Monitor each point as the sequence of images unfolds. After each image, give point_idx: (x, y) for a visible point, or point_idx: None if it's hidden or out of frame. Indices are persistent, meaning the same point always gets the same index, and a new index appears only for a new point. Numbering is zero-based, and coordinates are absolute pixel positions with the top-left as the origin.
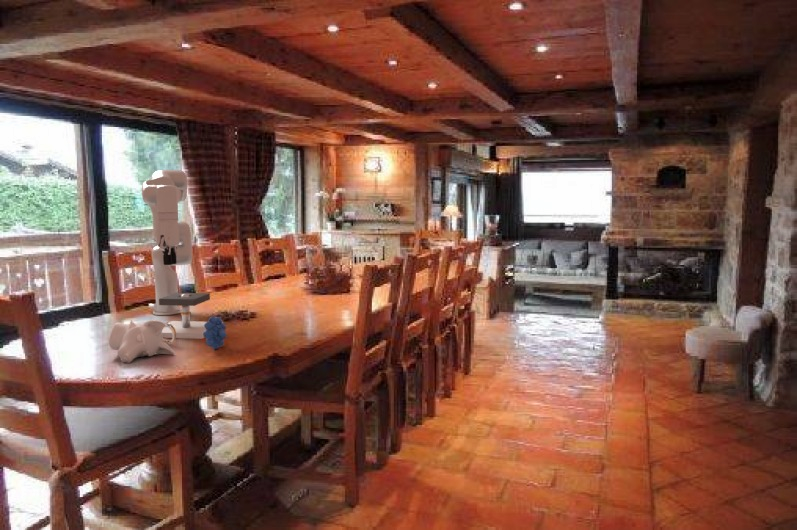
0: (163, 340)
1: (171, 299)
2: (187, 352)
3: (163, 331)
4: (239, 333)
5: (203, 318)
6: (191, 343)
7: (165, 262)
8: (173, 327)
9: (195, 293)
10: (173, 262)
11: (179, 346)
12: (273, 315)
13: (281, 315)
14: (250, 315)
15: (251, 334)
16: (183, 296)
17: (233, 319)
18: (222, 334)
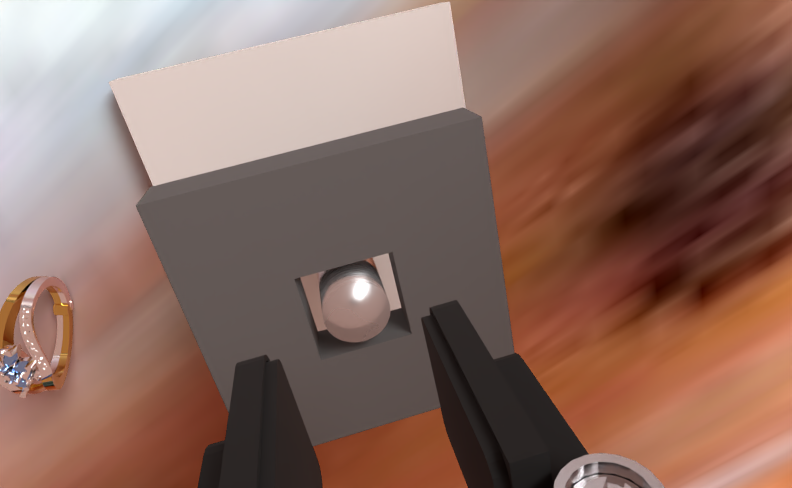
0: (50, 291)
1: (184, 312)
2: (11, 471)
3: (179, 172)
4: (388, 436)
5: (659, 58)
6: (144, 385)
7: (214, 454)
8: (50, 387)
9: (484, 300)
10: (447, 416)
11: (69, 377)
12: (745, 350)
13: (746, 379)
14: (744, 257)
15: (388, 483)
16: (324, 319)
17: (649, 238)
18: None
